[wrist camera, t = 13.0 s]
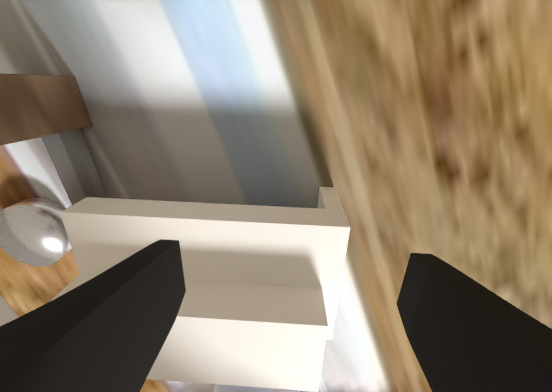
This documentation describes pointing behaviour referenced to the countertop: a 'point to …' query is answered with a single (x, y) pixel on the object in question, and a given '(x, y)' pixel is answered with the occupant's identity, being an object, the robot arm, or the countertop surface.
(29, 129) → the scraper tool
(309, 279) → the stepped stand
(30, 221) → the steel puck
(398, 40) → the countertop surface
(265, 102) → the countertop surface
